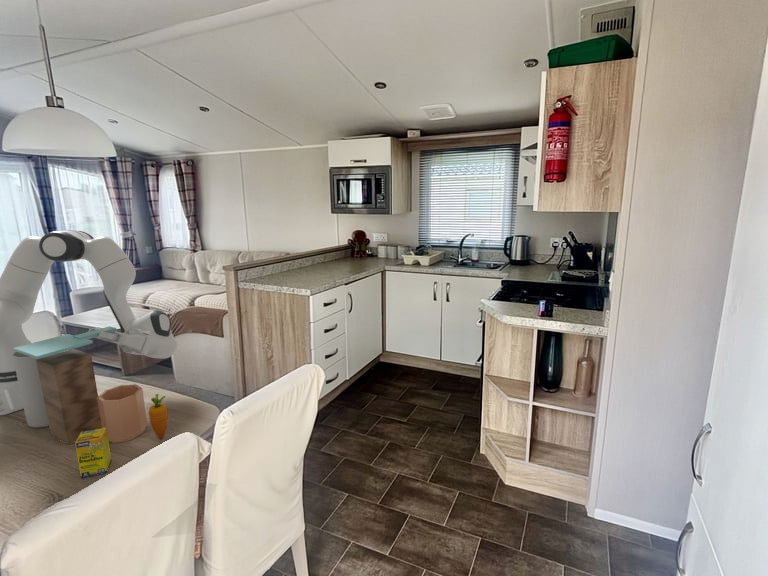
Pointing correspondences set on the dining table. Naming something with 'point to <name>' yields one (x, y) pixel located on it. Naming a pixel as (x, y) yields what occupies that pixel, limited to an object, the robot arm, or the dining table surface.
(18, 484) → the dining table surface
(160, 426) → the carrot
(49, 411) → the pedestal
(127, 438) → the peach faceted hollow pot
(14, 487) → the dining table surface
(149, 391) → the dining table surface
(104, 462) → the supplement box
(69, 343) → the teal flat board
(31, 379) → the cylinder vase
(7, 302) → the robot arm
